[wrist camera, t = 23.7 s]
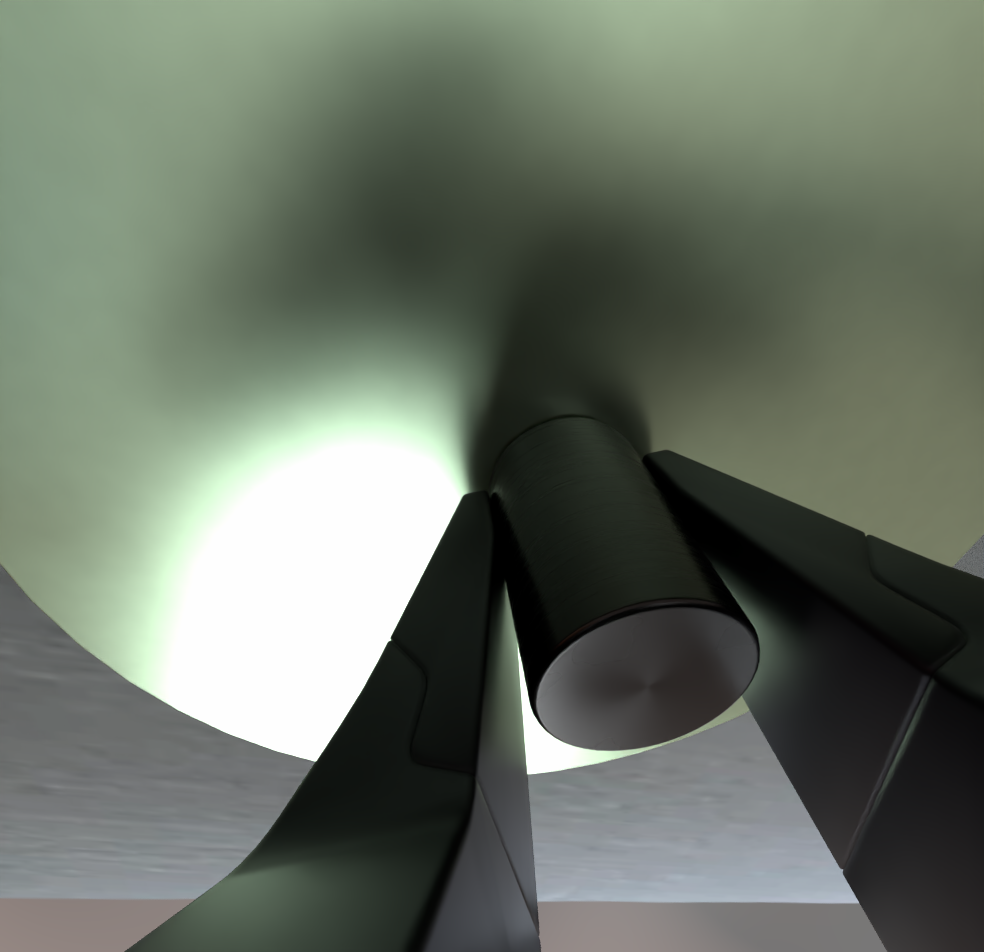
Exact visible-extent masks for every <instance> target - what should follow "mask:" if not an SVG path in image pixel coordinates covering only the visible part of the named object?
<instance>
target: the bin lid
mask: <svg viewBox="0 0 984 952" xmlns="http://www.w3.org/2000/svg"><path fill="white" fill-rule="evenodd" d="M661 450H670V451H673V452H675V453H678V454H680V455H682V456H685V457H687V458H690V459H692V460H694V461H697V462H699V463H701V464H704V465H706V466H709V467H711V468H713V469H716V470H718V471H720V472H723V473H725V474H728V475H730V476H732V477H735V478H737V479H739V480H742V481H744V482H747V483H749V484H751V485H754V486H756V487H758V488H761V489H763V490H766V491H768V492H770V493H773V494H775V495H777V496H780V497H782V498H785V499H787V500H789V501H792V502H794V503H796V504H799V505H801V506H803V507H806V508H808V509H811V510H813V511H815V512H818V513H820V514H822V515H825V516H827V517H830V518H832V519H834V520H837V521H839V522H841V523H844V524H846V525H849V526H851V527H853V528H856V529H858V530H860V531H863V532H864V533H865V536H867V535H873V536H875V537H878V538H880V539H882V540H885V541H887V542H889V543H892V544H894V545H896V546H899V547H901V548H904V549H906V550H909V551H911V552H914V553H916V554H919V555H921V556H924V557H926V558H929V559H931V560H934V561H936V562H939V563H941V564H944V565H947V566H950V567H953V566H954V565H955V564H956V563H957V562H958V561H959V560H960V559H961V558H962V557H963V555H964V554H965V553H966V552H967V551H968V550H969V549H970V548H971V547H972V546H973V545H974V544H975V543H976V542H977V541H978V540H979V539H980V538H981V536H982V535H983V534H984V0H0V565H1V566H2V567H3V568H4V569H5V570H6V572H7V573H8V574H9V575H10V576H11V578H12V579H13V580H14V581H15V582H16V583H17V585H18V586H19V587H20V588H21V589H22V590H23V592H24V593H25V594H26V595H27V596H28V598H29V599H30V600H31V601H32V602H33V603H34V604H35V605H36V606H38V607H39V608H40V609H41V610H42V611H43V612H44V613H45V614H46V615H47V616H48V617H49V618H50V619H52V620H53V621H54V622H55V623H56V624H57V625H58V626H59V627H60V628H61V629H62V630H63V631H65V632H66V633H67V634H68V635H69V636H70V637H71V638H72V639H73V640H74V641H75V642H76V643H77V644H79V645H80V646H81V647H83V648H84V649H85V650H87V651H88V652H89V653H91V654H92V655H93V656H95V657H96V658H97V659H99V660H100V661H101V662H103V663H104V664H106V665H107V666H108V667H110V668H111V669H112V670H114V671H115V672H116V673H118V674H119V675H120V676H122V677H123V678H124V679H126V680H127V681H129V682H130V683H132V684H134V685H135V686H137V687H139V688H141V689H142V690H144V691H146V692H147V693H149V694H151V695H152V696H154V697H156V698H157V699H159V700H161V701H163V702H164V703H166V704H168V705H169V706H171V707H173V708H174V709H176V710H178V711H180V712H182V713H184V714H187V715H189V716H191V717H193V718H195V719H197V720H199V721H201V722H204V723H206V724H208V725H210V726H212V727H214V728H216V729H219V730H221V731H223V732H225V733H227V734H230V735H233V736H236V737H238V738H241V739H244V740H247V741H250V742H252V743H255V744H258V745H261V746H263V747H266V748H269V749H272V750H274V751H278V752H282V753H285V754H289V755H293V756H297V757H300V758H304V759H308V760H312V761H315V762H316V760H317V759H318V757H319V756H320V754H321V753H322V751H323V750H324V748H325V747H326V745H327V744H328V742H329V741H330V739H331V738H332V736H333V735H334V733H335V732H336V730H337V729H338V727H339V725H340V724H341V722H342V721H343V719H344V718H345V716H346V714H347V713H348V711H349V710H350V708H351V706H352V705H353V703H354V702H355V700H356V698H357V697H358V695H359V694H360V692H361V690H362V688H363V687H364V685H365V683H366V681H367V679H368V678H369V676H370V674H371V672H372V670H373V669H374V667H375V665H376V663H377V661H378V659H379V657H380V655H381V654H382V652H383V650H384V648H385V646H386V644H387V642H388V641H390V636H391V634H392V633H393V631H394V629H395V627H396V625H397V623H398V621H399V619H400V617H401V615H402V613H403V611H404V609H405V607H406V605H407V603H408V601H409V599H410V597H411V595H412V594H413V592H414V590H415V588H416V586H417V584H418V582H419V580H420V578H421V576H422V574H423V572H424V570H425V568H426V566H427V564H428V562H429V560H430V558H431V556H432V555H433V553H434V551H435V549H436V547H437V545H438V543H439V541H440V539H441V537H442V535H443V533H444V531H445V529H446V527H447V525H448V523H449V521H450V519H451V517H452V515H453V514H454V512H455V510H456V508H457V506H458V504H459V502H460V500H461V498H462V496H463V495H464V494H467V493H472V492H476V491H481V490H486V491H487V492H488V493H489V497H490V502H491V507H492V512H493V517H494V522H495V527H496V532H497V537H498V542H499V547H500V552H501V559H502V565H503V571H504V577H505V582H506V587H507V592H508V597H509V603H510V608H511V613H512V618H513V623H514V628H515V633H516V638H517V644H518V657H519V670H520V683H521V697H522V710H523V723H524V736H525V749H526V762H527V774H535V773H543V772H552V771H559V770H564V769H569V768H575V767H580V766H586V765H591V764H596V763H601V762H605V761H609V760H613V759H617V758H621V757H625V756H629V755H633V754H637V753H640V752H644V751H647V750H650V749H653V748H657V747H660V746H663V745H666V744H669V743H672V742H675V741H678V740H681V739H684V738H687V737H690V736H692V735H695V734H697V733H700V732H702V731H705V730H707V729H709V728H712V727H714V726H717V725H719V724H722V723H724V722H727V721H729V720H732V719H734V718H736V717H738V716H740V715H742V714H744V713H746V712H748V711H750V710H749V708H748V706H747V704H746V703H745V701H744V699H743V697H742V694H743V693H744V692H745V691H746V690H747V688H748V687H749V685H750V684H751V682H752V680H753V679H754V676H755V674H756V672H757V669H758V666H759V662H760V645H759V639H758V635H757V633H756V630H755V628H754V626H753V625H752V623H751V622H750V620H749V619H748V617H747V616H746V614H745V613H744V611H743V610H742V608H741V607H740V605H739V604H738V602H737V601H736V599H735V598H734V596H733V595H732V593H731V592H730V591H729V589H728V588H727V586H726V585H725V583H724V582H723V580H722V579H721V577H720V576H719V574H718V573H717V571H716V570H715V568H714V567H713V565H712V564H711V562H710V561H709V559H708V558H707V556H706V555H705V553H704V552H703V550H702V549H701V547H700V546H699V544H698V543H697V541H696V540H695V538H694V537H693V535H692V534H691V532H690V531H689V529H688V528H687V526H686V525H685V523H684V522H683V520H682V519H681V517H680V516H679V515H678V513H677V512H676V510H675V509H674V507H673V506H672V504H671V503H670V501H669V500H668V498H667V497H666V495H665V494H664V492H663V491H662V489H661V488H660V486H659V485H658V483H657V482H656V480H655V479H654V477H653V476H652V474H651V473H650V471H649V470H648V468H647V467H646V465H645V464H644V462H643V461H642V459H643V457H644V455H645V454H648V453H653V452H657V451H661Z"/></svg>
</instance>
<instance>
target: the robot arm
mask: <svg viewBox="0 0 984 952" xmlns="http://www.w3.org/2000/svg"><path fill="white" fill-rule="evenodd" d="M642 461H643V462H644V464H645V465H646V467H647V468H648V470H649V471H650V473H651V474H652V476H653V477H654V479H655V480H656V482H657V483H658V485H659V486H660V488H661V489H662V491H663V492H664V494H665V495H666V497H667V498H668V500H669V501H670V503H671V504H672V506H673V507H674V509H675V510H676V512H677V513H678V515H679V516H680V517H681V519H682V520H683V522H684V523H685V525H686V526H687V528H688V529H689V531H690V532H691V534H692V535H693V537H694V538H695V540H696V541H697V543H698V544H699V546H700V547H701V549H702V550H703V552H704V553H705V555H706V556H707V558H708V559H709V561H710V562H711V564H712V565H713V567H714V568H715V570H716V571H717V573H718V574H719V576H720V577H721V579H722V580H723V582H724V583H725V585H726V586H727V588H728V589H729V591H730V592H731V593H732V595H733V596H734V598H735V599H736V601H737V602H738V604H739V605H740V607H741V608H742V610H743V611H744V613H745V614H746V616H747V617H748V619H749V620H750V622H751V623H752V625H753V626H754V628H755V630H756V633H757V635H758V639H759V645H760V662H759V666H758V669H757V672H756V674H755V676H754V679H753V680H752V682H751V684H750V685H749V687H748V688H747V690H746V691H745V692H744V693H743V694H742V697H743V699H744V701H745V703H746V704H747V706H748V708H749V710H750V711H751V713H752V715H753V717H754V718H755V720H756V722H757V724H758V725H759V727H760V729H761V731H762V732H763V734H764V736H765V738H766V739H767V741H768V743H769V745H770V746H771V748H772V750H773V752H774V753H775V755H776V757H777V759H778V760H779V762H780V764H781V766H782V767H783V769H784V771H785V773H786V774H787V776H788V778H789V780H790V781H791V783H792V785H793V787H794V788H795V790H796V792H797V794H798V795H799V797H800V799H801V801H802V802H803V804H804V806H805V808H806V809H807V811H808V813H809V815H810V816H811V818H812V820H813V822H814V823H815V825H816V827H817V829H818V830H819V832H820V834H821V836H822V837H823V839H824V841H825V843H826V844H827V846H828V848H829V850H830V851H831V853H832V855H833V857H834V858H835V860H836V862H837V864H838V865H839V867H840V868H841V869H844V870H843V875H844V877H845V878H846V880H847V882H848V884H849V885H850V887H851V889H852V891H853V892H854V894H855V896H856V898H857V899H858V901H859V903H860V905H861V906H862V908H863V910H864V912H865V913H866V915H867V917H868V919H869V920H870V922H871V924H872V925H873V927H874V929H875V931H876V933H877V934H878V936H879V938H880V940H881V941H882V943H883V945H884V947H885V948H886V950H887V952H984V579H983V578H980V577H977V576H974V575H972V574H969V573H966V572H963V571H961V570H958V569H955V568H952V567H950V566H947V565H944V564H941V563H939V562H936V561H934V560H931V559H929V558H926V557H924V556H921V555H919V554H916V553H914V552H911V551H909V550H906V549H904V548H901V547H899V546H896V545H894V544H892V543H889V542H887V541H885V540H882V539H880V538H878V537H875V536H873V535H867V536H865V533H864V532H863V531H860V530H858V529H856V528H853V527H851V526H849V525H846V524H844V523H841V522H839V521H837V520H834V519H832V518H830V517H827V516H825V515H822V514H820V513H818V512H815V511H813V510H811V509H808V508H806V507H803V506H801V505H799V504H796V503H794V502H792V501H789V500H787V499H785V498H782V497H780V496H777V495H775V494H773V493H770V492H768V491H766V490H763V489H761V488H758V487H756V486H754V485H751V484H749V483H747V482H744V481H742V480H739V479H737V478H735V477H732V476H730V475H728V474H725V473H723V472H720V471H718V470H716V469H713V468H711V467H709V466H706V465H704V464H701V463H699V462H697V461H694V460H692V459H690V458H687V457H685V456H682V455H680V454H678V453H675V452H673V451H670V450H661V451H657V452H653V453H648V454H645V455H644V457H643V459H642ZM125 952H541V945H540V939H539V921H538V907H537V894H536V881H535V868H534V855H533V841H532V828H531V815H530V802H529V789H528V776H527V762H526V749H525V736H524V723H523V710H522V697H521V683H520V670H519V657H518V644H517V638H516V633H515V628H514V623H513V618H512V613H511V608H510V603H509V597H508V592H507V587H506V582H505V577H504V571H503V565H502V559H501V552H500V547H499V542H498V537H497V532H496V527H495V522H494V517H493V512H492V507H491V502H490V497H489V493H488V492H487V491H486V490H481V491H476V492H472V493H467V494H464V495H463V496H462V498H461V500H460V502H459V504H458V506H457V508H456V510H455V512H454V514H453V515H452V517H451V519H450V521H449V523H448V525H447V527H446V529H445V531H444V533H443V535H442V537H441V539H440V541H439V543H438V545H437V547H436V549H435V551H434V553H433V555H432V556H431V558H430V560H429V562H428V564H427V566H426V568H425V570H424V572H423V574H422V576H421V578H420V580H419V582H418V584H417V586H416V588H415V590H414V592H413V594H412V595H411V597H410V599H409V601H408V603H407V605H406V607H405V609H404V611H403V613H402V615H401V617H400V619H399V621H398V623H397V625H396V627H395V629H394V631H393V633H392V634H391V636H390V641H388V642H387V644H386V646H385V648H384V650H383V652H382V654H381V655H380V657H379V659H378V661H377V663H376V665H375V667H374V669H373V670H372V672H371V674H370V676H369V678H368V679H367V681H366V683H365V685H364V687H363V688H362V690H361V692H360V694H359V695H358V697H357V698H356V700H355V702H354V703H353V705H352V706H351V708H350V710H349V711H348V713H347V714H346V716H345V718H344V719H343V721H342V722H341V724H340V725H339V727H338V729H337V730H336V732H335V733H334V735H333V736H332V738H331V739H330V741H329V742H328V744H327V745H326V747H325V748H324V750H323V751H322V753H321V754H320V756H319V757H318V759H317V760H316V762H315V763H314V765H313V766H312V768H311V769H310V771H309V772H308V774H307V775H306V777H305V778H304V780H303V781H302V783H301V784H300V786H299V787H298V789H297V790H296V792H295V794H294V795H293V797H292V798H291V800H290V801H289V803H288V804H287V806H286V807H285V809H284V810H283V812H282V813H281V815H280V816H279V818H278V819H277V820H276V822H275V823H274V825H273V826H272V827H271V829H270V830H269V832H268V833H267V834H266V835H265V837H264V838H263V839H262V840H261V842H260V843H259V844H258V845H257V847H256V848H255V849H254V850H253V851H252V852H251V853H250V854H249V855H248V856H247V857H246V859H245V860H244V861H243V862H242V863H241V864H240V865H239V866H238V867H236V868H235V869H234V870H233V871H232V872H231V873H230V874H229V875H228V876H226V877H225V878H224V879H223V880H221V881H220V882H219V883H217V884H216V885H215V886H213V887H212V888H211V889H209V890H208V891H207V892H205V893H204V894H202V895H201V896H200V897H198V898H197V899H196V900H194V901H193V902H192V903H190V904H189V905H187V906H186V907H185V908H183V909H182V910H181V911H179V912H178V913H177V914H175V915H174V916H172V917H171V918H170V919H168V920H167V921H166V922H164V923H163V924H162V925H160V926H159V927H158V928H156V929H155V930H153V931H152V932H151V933H149V934H148V935H146V936H145V937H144V938H142V939H141V940H140V941H138V942H137V943H136V944H134V945H133V946H132V947H130V948H129V949H127V950H126V951H125Z"/></svg>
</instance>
